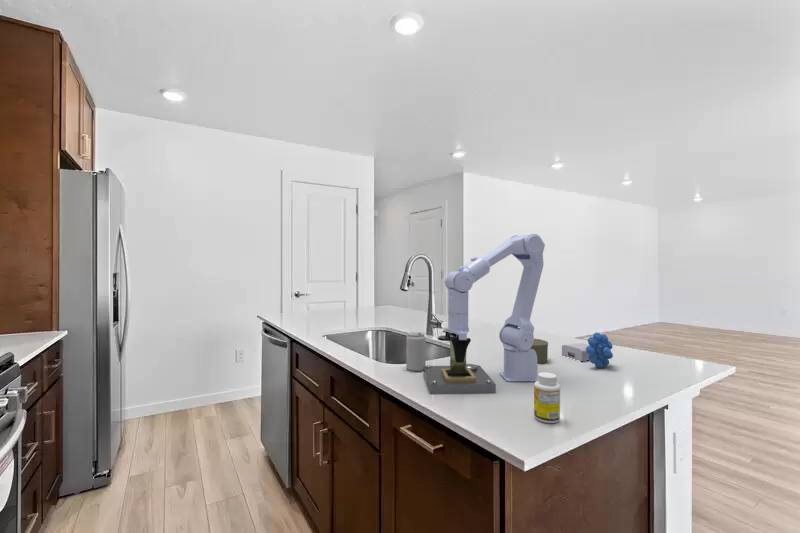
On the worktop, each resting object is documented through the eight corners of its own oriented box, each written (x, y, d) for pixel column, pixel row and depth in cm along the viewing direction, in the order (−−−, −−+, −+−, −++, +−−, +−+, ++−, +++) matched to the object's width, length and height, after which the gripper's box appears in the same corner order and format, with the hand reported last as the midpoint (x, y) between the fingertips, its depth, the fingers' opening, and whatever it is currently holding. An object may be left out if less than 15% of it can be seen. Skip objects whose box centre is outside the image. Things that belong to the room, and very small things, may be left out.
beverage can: (424, 372, 123) (424, 335, 123) (404, 371, 125) (404, 334, 124) (426, 367, 130) (426, 331, 129) (408, 366, 131) (408, 331, 131)
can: (548, 366, 131) (548, 346, 131) (511, 363, 135) (511, 343, 135) (548, 357, 142) (548, 339, 142) (514, 355, 146) (514, 337, 146)
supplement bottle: (539, 412, 92) (539, 369, 92) (563, 418, 88) (563, 374, 88) (530, 419, 88) (530, 375, 87) (555, 426, 84) (555, 380, 84)
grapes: (598, 373, 123) (598, 336, 122) (580, 367, 129) (581, 332, 129) (623, 369, 127) (623, 333, 127) (604, 364, 134) (605, 329, 133)
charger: (611, 358, 142) (581, 362, 136) (590, 352, 150) (561, 356, 144) (612, 345, 141) (581, 349, 136) (590, 340, 150) (561, 344, 144)
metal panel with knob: (479, 373, 123) (479, 362, 123) (495, 393, 105) (495, 380, 105) (423, 373, 122) (423, 362, 122) (429, 393, 104) (429, 381, 104)
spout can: (464, 367, 114) (465, 333, 113) (467, 372, 109) (467, 336, 109) (448, 367, 114) (449, 332, 113) (450, 372, 109) (450, 336, 109)
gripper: (440, 309, 118) (440, 353, 118) (448, 316, 104) (448, 366, 104) (463, 309, 118) (463, 353, 119) (474, 316, 104) (474, 366, 104)
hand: (458, 359), depth 111 cm, fingers closed on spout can, 5 cm apart
